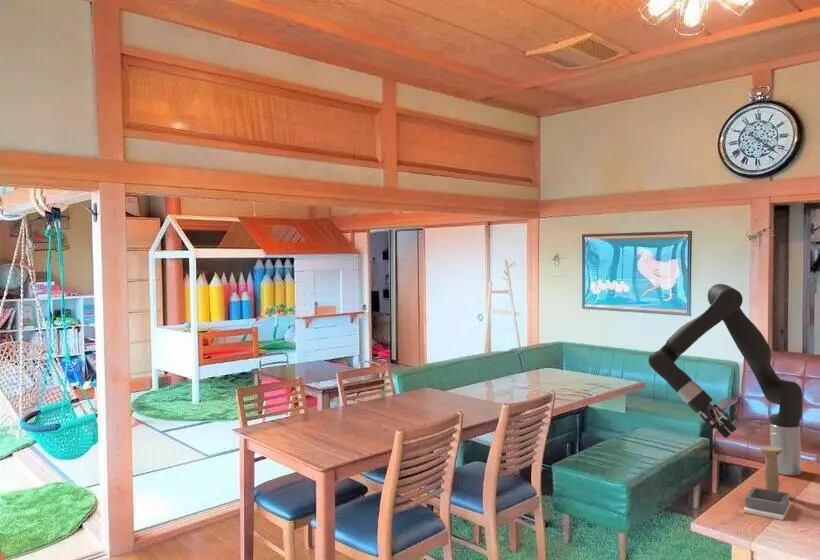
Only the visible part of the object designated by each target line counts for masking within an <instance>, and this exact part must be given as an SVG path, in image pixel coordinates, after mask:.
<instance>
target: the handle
mask: <svg viewBox="0 0 820 560" xmlns="http://www.w3.org/2000/svg"><path fill="white" fill-rule="evenodd" d="M759 450H760V453H761V454H763V455H764V458H765V461H764V462H765V463H764V464H765V467H764V468H765V469H764V484H765V488H766V489H767V490H773V491H778V492H779V487H780V476H779V473H778V463H777V456H778V455H779V454H781V453H782V449H781V448H779V447H774V446H771V445H770V446H769V445H768V446H761V447H760V449H759Z"/></svg>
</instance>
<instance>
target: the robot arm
mask: <svg viewBox="0 0 820 560" xmlns="http://www.w3.org/2000/svg"><path fill="white" fill-rule="evenodd" d="M743 299H744V298H743V296H742V293H741V292H740V291H739V290H737V289H736V288H734V287H732V286H730V285H727V284H725V283H724V284H723V283H717V284H714V285H712V286H711V287H710V288H709V290H708V291H707V301H708V303H709V306H708V307H707V309H706V310H705V311H704V312H702V313H701V314H700V315H698V316H697V317H695V318H693V319H692V320H690V321H687V322H686V323H685V324H683V325H681V326H680V327H679V328H678V329H677V330H676V331H675V332H674V333H673V334H671V336H669V338H668V339H667V340H666V342H665V344H663V345H662V347H660V348H659V350H656V351H652V353H650V354H649V356H648V364H649V366H650V368H652V370H653V371H654V372H655V373H657V374H658V375H659V376H660V377H661V378H663V380H664V381H666V382H667V385H669V386H670V387H671V389H672V390H674V391H675V393H677V395H679V397H680V398H681V399H682V400H683V401H684V403H685V404H686V405H687V406H688V407H689V408H690V409H691V410H692V411H693V412H694V413H695V414H699V413H701V414H699V415H700V418H701V419H703V421H704V422H705V424H707V425H708V426H709V427H710V428H711V429H712V430H717V431H718V432H719V433H720V434H721V435H722V436H723V437H724V438H726V439H727V438H728V437H730V436H731V433H734V432H735V431H736V430H737V428H736V426H735V425H734V424H733V423H732V422H731V421H730V420H729V416H728V415H727V414H726V413H725V412H724V411H723V410H722V409H721V408H720V407H719V406H718V405H717V404H716V403H714V404H713V405H712V404H711V403H712V402H713V398H712V397H711V396H710V394H708V393H707V392H706V391H705V390H704V389H703V388H702V387H701V386H700V385H699V384H698V383H697V382H696V381H694V380H693V379H692V378H691V377H690V376H689V375H688V374H687V373H686V372H685V371H683V369H681V368H680V367H679V366H678V365H677V364H676V363H675V362H676V361H677V360H678V359H679V358H680V356H681V355H682V354H684V353H685V352H686V351H687V350H688V349H690V348H691V346H692V345H694V343H696V342H697V341H698V340H699V339H700V338H702V336H703V335H705V334H706V333H708V331H710V330H711V329H713V328H714V327H716V326H717V325H718V324H719V323H721V322H723V323H724V325H725V326H726V329H727V331H728V333H729V334H730V336H731V338H732V340H733V342H734V343H735V345H736V347H737V349H738V350H739V353H740V354H741V355H742V357H743V358H744V360H745V361H746V363H747V365H748V366H749V369H750V370H751V371H752V373H753V374H754V376H755V379H756V382H757V383H758V385H759V387H760V389H761V392H762V394H763V395H764V397H765V398H766V400H768V402H770V403H771V404H775V405H779V409H778V410H779V411H778V413H773V414H771V415H770V416H769V429H770V430H769V432H770V435H769V436H770V446H774V447H779V448H781V449H782V453H781V454H779V455H778V456H777V463H778V473H779V474H780V475H785V476H800V475H801V474H802V453H801V451H802V450H801V429H800V428H801V427H800V426H801V419H802V417H803V391H802V387H801V386H800V385H799V383H797V382H795V381H790V380H786V379H781V378H780V376H778V374H777V373H776V372H775V370H774V369H773V366H772V364H771V363H772V362H771V360H772V349H771V347H770V345H769V343H768V341H767V340H766V338H765V336H764V335H763V334H762V331H760V330H759V329H758V328H757V326H756V325H755V324H754V323H753V322H752V321H751V320H750V319H749V317H747V316H746V314H745V313H744V311H743V310H742V309H741V307H742V304H743Z"/></svg>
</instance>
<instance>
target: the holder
mask: <svg viewBox="0 0 820 560" xmlns="http://www.w3.org/2000/svg"><path fill="white" fill-rule="evenodd" d="M791 506H792V500H790V493H789V492H784V491H779V490H778V491H773V490H767V488H766V489H765V488H760V487H755V486H753V487H751V489H750V490H749V491H748V493H747V494H746V496H745V506H744V508H743V513H745V512H746V514H751V515H755V516H760V517H765V518H769V519H770V518H771V519H776V520H780V521H784V519H785V518H786V516H787V513H788V511H789V509H790V508H791Z"/></svg>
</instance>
